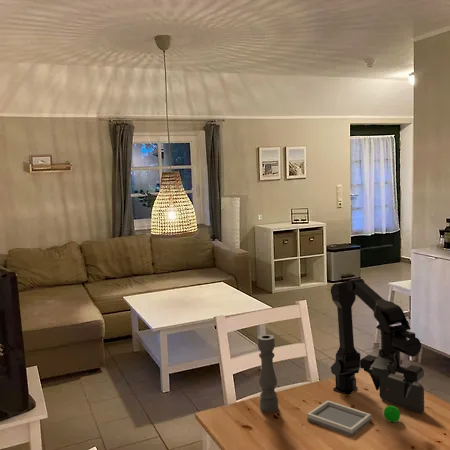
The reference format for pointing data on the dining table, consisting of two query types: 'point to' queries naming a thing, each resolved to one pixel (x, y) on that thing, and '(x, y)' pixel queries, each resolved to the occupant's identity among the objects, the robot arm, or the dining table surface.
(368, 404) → the dining table surface
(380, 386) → the leaning round-cornered charcoal block
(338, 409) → the tray
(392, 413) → the polyhedron
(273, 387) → the candle holder
